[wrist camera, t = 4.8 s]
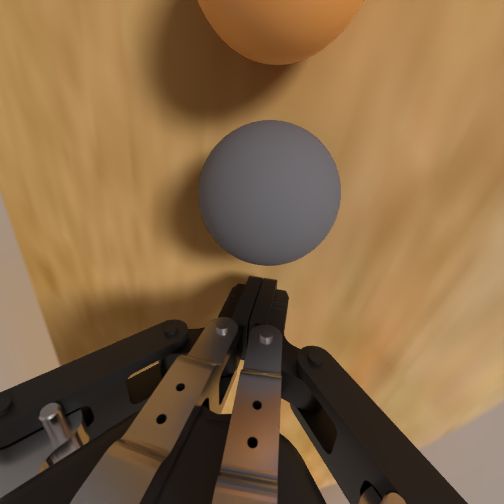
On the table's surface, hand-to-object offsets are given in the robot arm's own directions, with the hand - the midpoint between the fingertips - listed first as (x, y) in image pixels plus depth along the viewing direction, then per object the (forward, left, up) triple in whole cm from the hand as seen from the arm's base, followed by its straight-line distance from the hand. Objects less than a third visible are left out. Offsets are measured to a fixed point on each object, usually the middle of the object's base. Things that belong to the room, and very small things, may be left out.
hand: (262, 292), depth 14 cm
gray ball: (-5, +1, +1) cm, 6 cm away
